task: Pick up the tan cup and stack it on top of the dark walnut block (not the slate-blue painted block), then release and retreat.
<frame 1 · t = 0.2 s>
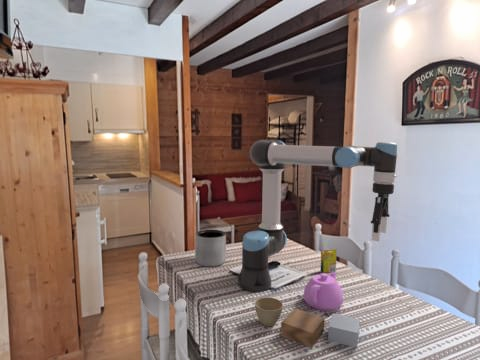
hand: (378, 236, 132), 28 cm above the table, fingers open, 13 cm apart
slate block: (343, 336, 113), on the table
teapot: (322, 303, 136), on the table
walnut block: (302, 333, 114), on the table
tan cup: (268, 322, 120), on the table
crayon box: (327, 271, 168), on the table
planter: (210, 262, 177), on the table
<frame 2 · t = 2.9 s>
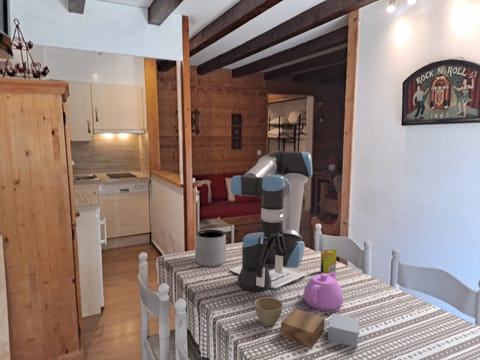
hand: (269, 279, 118), 16 cm above the table, fingers open, 13 cm apart
nothing on the table moved.
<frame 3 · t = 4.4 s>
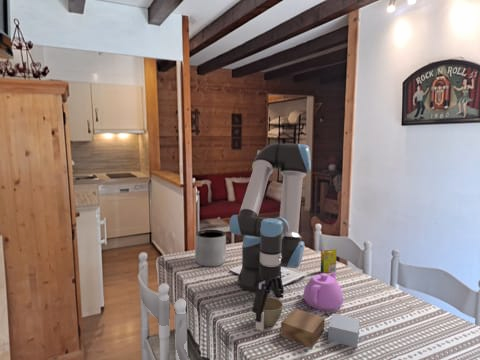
hand: (268, 321, 120), 0 cm above the table, fingers open, 12 cm apart
nothing on the table moved.
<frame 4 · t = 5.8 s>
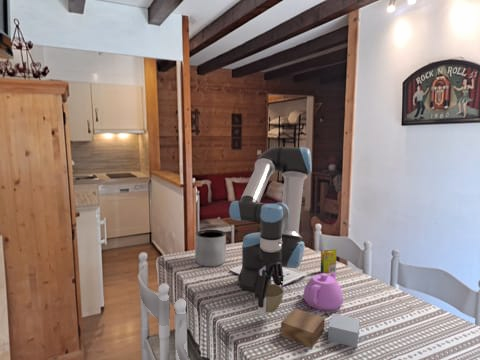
hand: (269, 307, 121), 5 cm above the table, fingers closed on tan cup, 10 cm apart
tan cup: (269, 309, 121), point 5 cm above the table, touching gripper
everything else where it was.
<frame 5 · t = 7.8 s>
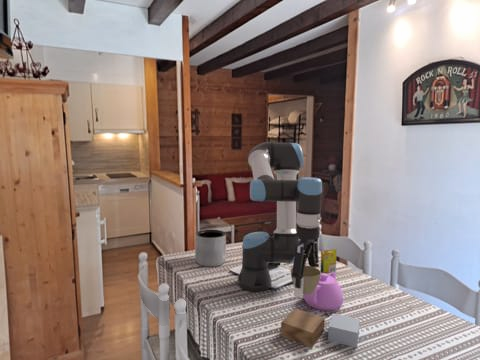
hand: (304, 290, 112), 15 cm above the table, fingers closed on tan cup, 10 cm apart
tan cup: (304, 291, 112), point 15 cm above the table, touching gripper
everything else where it was.
when the fingers open (6 cm above the table, at t = 9.9 s): tan cup stays where it is, resting on walnut block.
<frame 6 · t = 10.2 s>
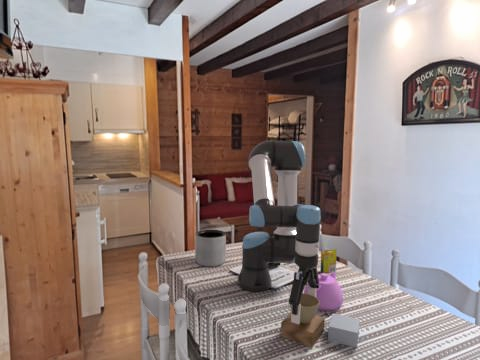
hand: (303, 313, 113), 7 cm above the table, fingers open, 13 cm apart
tan cup: (303, 320, 113), point 5 cm above the table, touching walnut block
everything else where it was.
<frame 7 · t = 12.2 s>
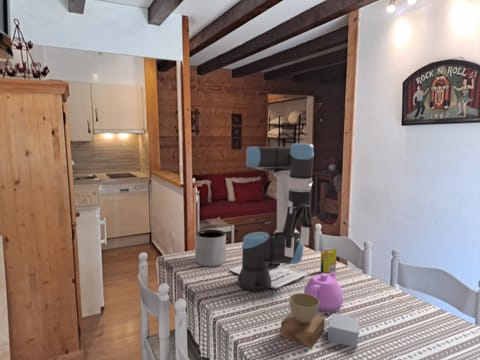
hand: (296, 250, 116), 27 cm above the table, fingers open, 13 cm apart
nothing on the table moved.
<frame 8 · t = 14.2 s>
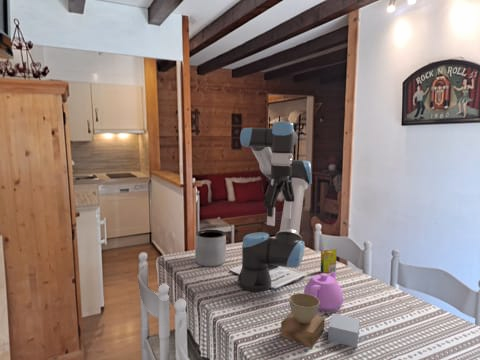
hand: (279, 221, 125), 35 cm above the table, fingers open, 13 cm apart
nothing on the table moved.
at the end: tan cup inside the target area on the walnut block (0.1 cm from its centre), point 4.8 cm above the walnut block's base; tan cup tilted 0°; the gripper is holding nothing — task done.
